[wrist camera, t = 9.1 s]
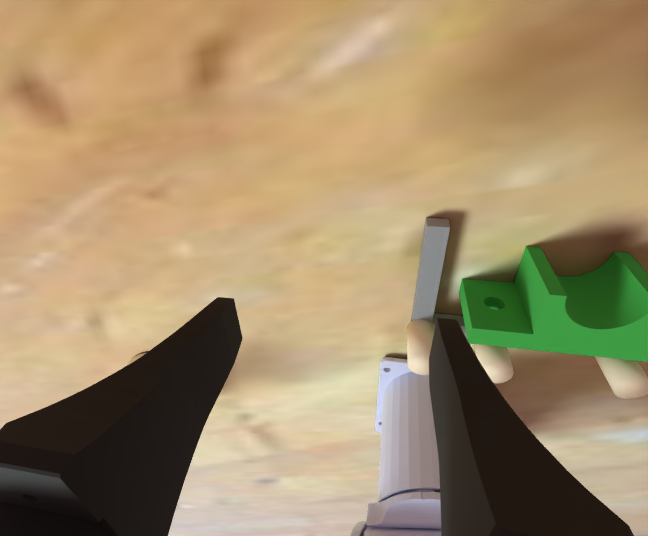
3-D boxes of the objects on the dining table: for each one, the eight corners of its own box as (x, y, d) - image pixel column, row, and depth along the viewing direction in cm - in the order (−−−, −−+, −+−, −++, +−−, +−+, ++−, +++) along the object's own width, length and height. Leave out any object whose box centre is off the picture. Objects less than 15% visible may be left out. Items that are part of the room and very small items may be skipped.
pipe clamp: (689, 253, 20) (755, 311, 16) (655, 306, 22) (706, 368, 18) (469, 240, 22) (483, 290, 18) (457, 291, 24) (468, 345, 20)
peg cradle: (684, 354, 23) (729, 411, 20) (405, 326, 26) (406, 373, 23) (776, 236, 18) (854, 286, 15) (420, 217, 21) (423, 256, 18)
